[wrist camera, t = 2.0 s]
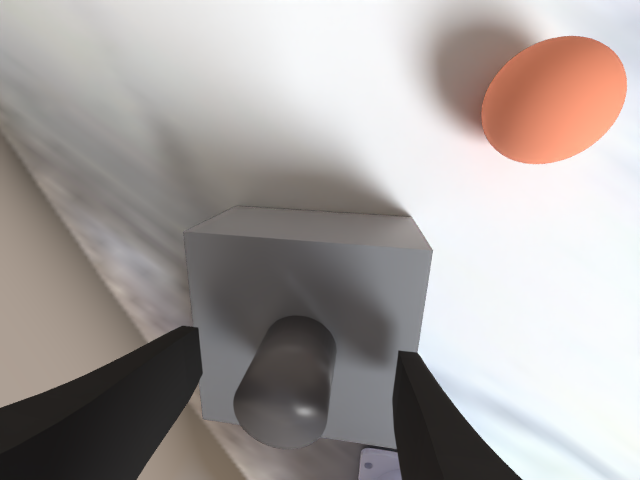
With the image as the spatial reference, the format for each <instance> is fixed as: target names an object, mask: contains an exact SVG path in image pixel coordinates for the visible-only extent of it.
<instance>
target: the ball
mask: <svg viewBox="0 0 640 480" xmlns="http://www.w3.org/2000/svg"><path fill="white" fill-rule="evenodd" d="M626 91H627V78H626V73H625V70H624V67H623V64H622V62H621V61H620V59H619V57H618V56H617V55H616V54H615V52H614V51H612V50H611V49H610V48H609V47H607V46H606V45H604V44H602V43H601V42H599V41H596V40H594V39H591V38H586V37H580V36H563V37H557V38H552V39H548V40H545V41H542V42H539V43H537V44H534V45H532V46H530V47H528V48H526V49H525V50H523V51H521V52H520V53H518V54H517V55H516V56H514V57H513V58H512V59H511V60H509V61H508V62H507V63H506V64H505V65H504V66H503V67H502V68H501V69H500V71H499V72H498V73H497V74H496V76H495V77H494V79H493V80H492V82H491V83H490V85H489V87H488V89H487V91H486V94H485V96H484V100H483V104H482V111H481V120H482V127H483V130H484V133H485V135H486V138H487V139H488V141H489V142H490V144H491V145H492V146H493V147H494V148H495V149H496V150H497V151H498V152H499V153H501V154H502V155H504V156H505V157H507V158H509V159H512V160H514V161H518V162H522V163H528V164H546V163H553V162H557V161H560V160H564V159H567V158H569V157H572V156H574V155H576V154H578V153H580V152H582V151H584V150H585V149H587V148H588V147H590V146H592V145H593V144H594V143H595V142H596V141H598V140H599V139H600V138H601V137H602V136H603V135H604V134H605V133H606V132H607V131H608V130H609V129H610V127H611V126H612V125H613V123H614V122H615V120H616V119H617V117H618V115H619V113H620V111H621V109H622V107H623V104H624V101H625V97H626Z"/></svg>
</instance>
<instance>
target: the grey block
mask: <svg viewBox="0 0 640 480" xmlns="http://www.w3.org/2000/svg"><path fill="white" fill-rule="evenodd" d="M183 233H184V243H185V252H186V262H187V271H188V281H189V291H190V300H191V310H192V320H193V327H198V329H199V339H200V349H201V359H202V369H203V374H202V376H201V378H200V380H199V387H200V397H201V407H202V416H203V419H205V420H211V421H218V422H224V423H231V424H237V425H241V426H242V428H243V429H244V430H245V431H246V432H247V433H248V434H249V435H250V436H252V437H253V438H254V439H256V440H257V441H259V442H261V443H263V444H265V445H268V446H271V447H274V448H279V449H298V448H303V447H306V446H308V445H310V444H312V443H314V442H315V441H316V440H317V439H319V438H320V437H322V438H328V439H335V440H341V441H348V442H354V443H361V444H367V445H374V446H380V447H387V448H393V449H397V447H396V441H395V434H394V425H393V406H392V396H393V388H394V381H395V373H396V365H397V358H398V350H400V351H408V352H417V351H418V345H419V338H420V332H421V325H422V319H423V312H424V306H425V299H426V293H427V286H428V279H429V273H430V266H431V260H432V253H433V250H432V248H431V247H430V245H429V243H428V242H427V240H426V239H425V237H424V235H423V234H422V232H421V231H420V229H419V227H418V226H417V224H416V223H415V221H414V219H413V218H412V217H405V216H389V215H373V214H357V213H341V212H326V211H310V210H294V209H278V208H262V207H247V206H235V207H233V208H231V209H229V210H227V211H225V212H223V213H221V214H219V215H217V216H214V217H212V218H210V219H208V220H206V221H204V222H202V223H200V224H198V225H196V226H194V227H192V228H190V229H188V230H186V231H184V232H183Z"/></svg>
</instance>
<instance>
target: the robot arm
mask: <svg viewBox="0 0 640 480" xmlns="http://www.w3.org/2000/svg"><path fill="white" fill-rule="evenodd" d="M202 374H203V369H202V359H201V349H200V339H199V329H198V327H190V326H181V327H179V328H177V329H175V330H172V331H171V332H169V333H167V334H165V335H163V336H161V337H159V338H157V339H155V340H153V341H151V342H150V343H148V344H146V345H144V346H142V347H140V348H138V349H137V350H134V351H133V352H131V353H129V354H127V355H125V356H123V357H121V358H119V359H117V360H115V361H113V362H111V363H109V364H107V365H105V366H103V367H101V368H99V369H97V370H94V371H92V372H90V373H88V374H86V375H84V376H82V377H79V378H77V379H75V380H72V381H70V382H68V383H65V384H63V385H60V386H58V387H56V388H54V389H51V390H48V391H46V392H43V393H41V394H38V395H35V396H32V397H30V398H27V399H24V400H21V401H18V402H16V403H13V404H10V405H7V406H4V407H2V408H0V480H137V478H138V476H139V475H140V473H141V472H142V470H143V468H144V467H145V465H146V463H147V462H148V461H149V459H150V458H151V456H152V455H153V453H154V452H155V450H156V449H157V447H158V446H159V445H160V443H161V442H162V440H163V438H164V437H165V436H166V434H167V433H168V431H169V430H170V428H171V427H172V425H173V424H174V422H175V421H176V420H177V418H178V416H179V415H180V413H181V412H182V410H183V409H184V408H185V406H186V404H187V403H188V401H189V400H190V398H191V396H192V394H193V392H194V390H195V389H196V387H197V385H198V382H199V380H200V378H201V376H202ZM392 406H393V425H394V434H395V441H396V447H397V452H393V451H387V450H380V449H374V448H365V449H363V450H362V451H361V456H360V466H359V476H358V480H522V479H521V478H520V477H519V476H518V475H517V474H516V473H515V472H514V471H513V470H512V469H511V468H510V467H509V466H508V465H507V464H506V463H505V462H504V461H503V460H502V459H501V458H500V457H499V456H498V455H497V454H496V453H495V452H494V451H493V450H492V449H491V448H490V447H489V446H488V445H487V443H486V442H485V441H484V440H483V439H482V438H481V437H480V436H479V435H478V433H477V432H476V431H475V430H474V429H473V428H472V426H471V425H470V424H469V423H468V422H467V420H466V419H465V418H464V417H463V415H462V414H461V413H460V412H459V410H458V409H457V408H456V407H455V405H454V404H453V403H452V401H451V400H450V399H449V397H448V396H447V395H446V393H445V392H444V391H443V389H442V388H441V387H440V385H439V384H438V382H437V381H436V379H435V378H434V377H433V375H432V374H431V372H430V371H429V369H428V368H427V366H426V365H425V363H424V362H423V360H422V358H421V357H420V355H419V354H418V353H417V352H408V351H400V350H398V358H397V365H396V373H395V381H394V388H393V396H392Z"/></svg>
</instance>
